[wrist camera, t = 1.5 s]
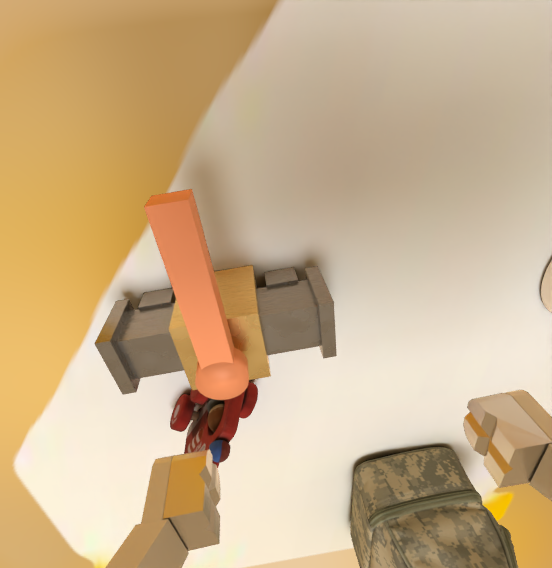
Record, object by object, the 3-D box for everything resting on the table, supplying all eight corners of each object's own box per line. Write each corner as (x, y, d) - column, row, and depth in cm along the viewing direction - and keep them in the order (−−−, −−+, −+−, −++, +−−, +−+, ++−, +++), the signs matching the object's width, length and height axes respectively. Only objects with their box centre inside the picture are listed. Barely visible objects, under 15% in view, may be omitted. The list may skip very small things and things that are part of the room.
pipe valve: (313, 254, 34) (337, 305, 26) (318, 311, 37) (340, 370, 30) (118, 288, 33) (85, 350, 26) (143, 342, 37) (120, 410, 29)
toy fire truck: (265, 367, 41) (275, 448, 32) (215, 428, 46) (212, 513, 37) (213, 347, 38) (208, 428, 30) (166, 413, 43) (150, 500, 34)
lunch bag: (434, 517, 67) (512, 687, 48) (344, 532, 66) (388, 711, 47) (465, 436, 53) (591, 628, 35) (351, 452, 52) (418, 660, 34)
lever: (251, 375, 29) (253, 394, 27) (204, 384, 29) (202, 403, 27) (205, 186, 20) (203, 197, 18) (137, 197, 20) (129, 209, 18)
